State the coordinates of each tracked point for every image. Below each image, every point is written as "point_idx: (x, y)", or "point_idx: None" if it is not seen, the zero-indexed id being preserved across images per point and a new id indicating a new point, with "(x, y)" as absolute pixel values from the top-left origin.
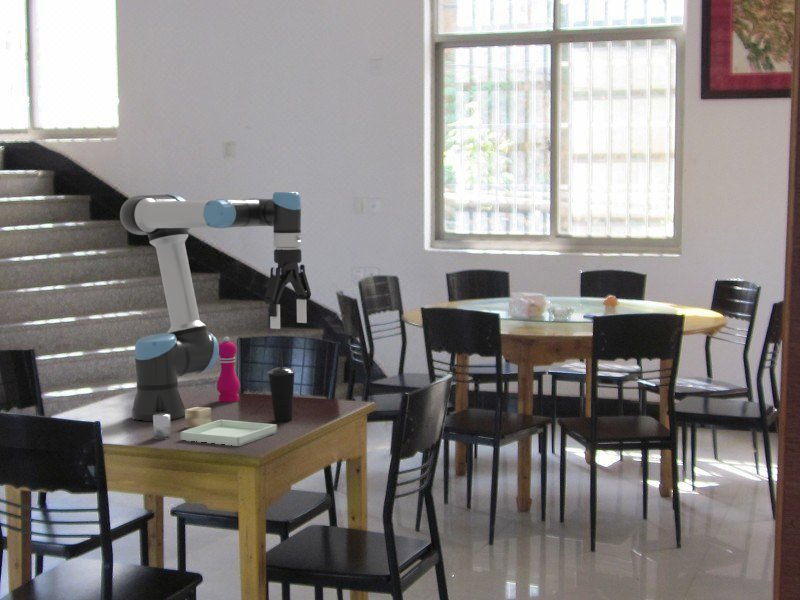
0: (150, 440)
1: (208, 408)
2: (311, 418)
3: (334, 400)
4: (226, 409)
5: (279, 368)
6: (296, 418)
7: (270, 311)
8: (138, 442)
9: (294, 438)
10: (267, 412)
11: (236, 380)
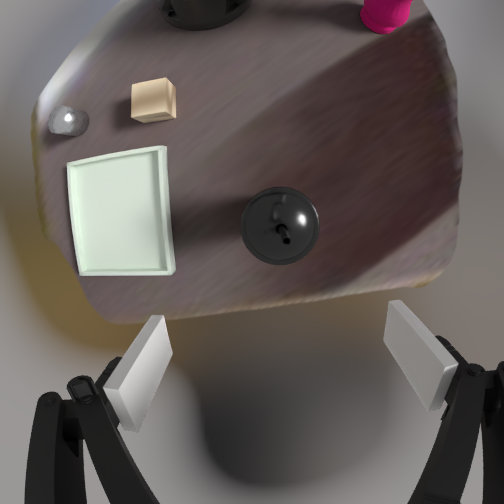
0: None
1: (158, 111)
2: None
3: (452, 199)
4: (313, 49)
5: (268, 231)
6: None
7: (103, 376)
8: None
9: None
10: (323, 137)
11: (395, 17)
